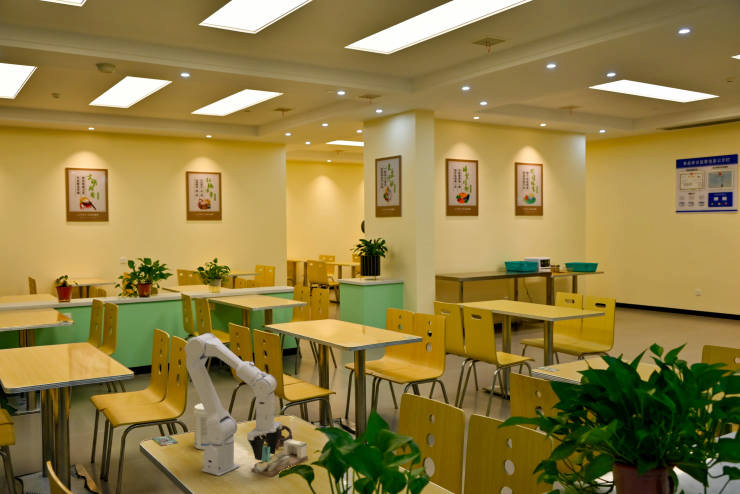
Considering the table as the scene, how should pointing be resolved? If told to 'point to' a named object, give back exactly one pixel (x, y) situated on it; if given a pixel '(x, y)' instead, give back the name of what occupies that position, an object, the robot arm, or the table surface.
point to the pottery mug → (281, 437)
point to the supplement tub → (200, 427)
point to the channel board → (281, 465)
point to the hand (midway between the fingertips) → (265, 456)
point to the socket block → (295, 448)
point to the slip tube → (267, 459)
